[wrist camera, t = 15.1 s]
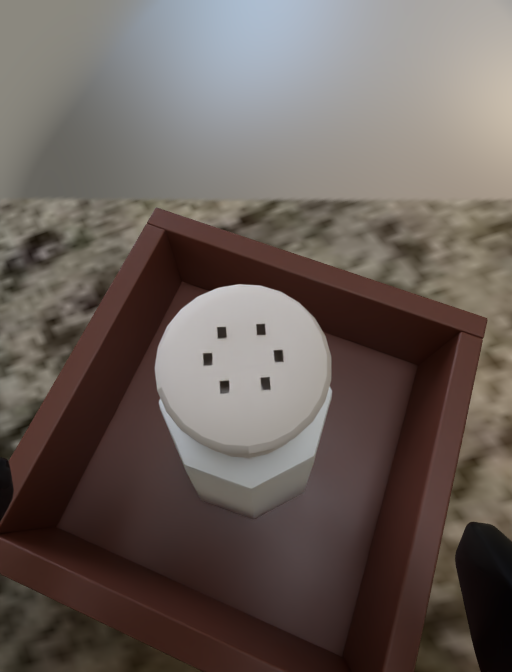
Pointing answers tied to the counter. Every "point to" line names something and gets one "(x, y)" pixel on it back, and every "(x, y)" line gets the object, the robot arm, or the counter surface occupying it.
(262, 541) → the bin
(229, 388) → the salt shaker
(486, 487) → the counter surface
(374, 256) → the counter surface
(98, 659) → the counter surface
